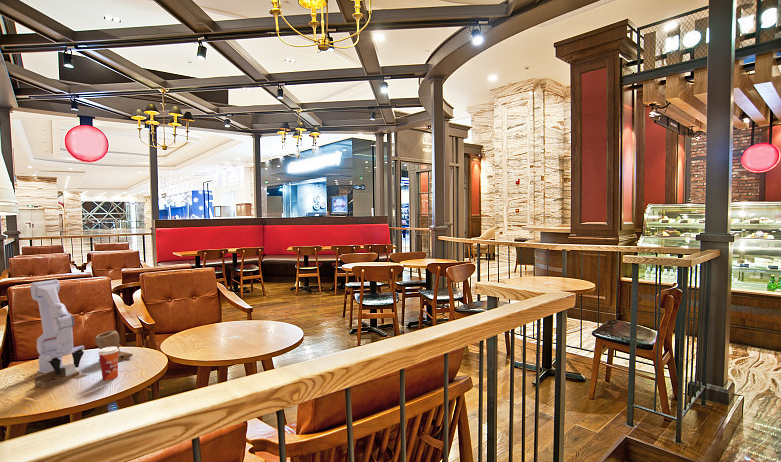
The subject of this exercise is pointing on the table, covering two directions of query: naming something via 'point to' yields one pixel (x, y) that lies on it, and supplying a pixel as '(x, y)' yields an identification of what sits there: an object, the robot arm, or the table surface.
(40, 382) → the walnut cabinet
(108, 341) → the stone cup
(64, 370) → the steel cube
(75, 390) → the table surface
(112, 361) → the paper cup
